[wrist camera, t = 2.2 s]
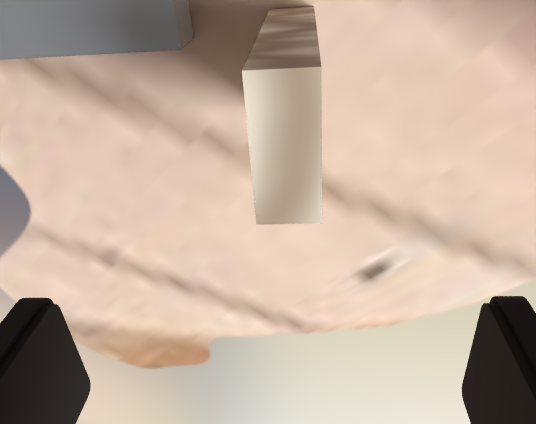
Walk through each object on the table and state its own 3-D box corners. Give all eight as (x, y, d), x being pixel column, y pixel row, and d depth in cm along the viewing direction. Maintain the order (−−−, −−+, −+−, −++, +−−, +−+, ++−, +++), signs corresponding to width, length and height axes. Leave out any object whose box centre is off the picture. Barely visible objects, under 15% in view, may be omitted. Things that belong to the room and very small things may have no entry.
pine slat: (313, 6, 30) (321, 66, 17) (315, 107, 34) (321, 223, 20) (269, 9, 31) (241, 70, 17) (275, 108, 34) (256, 224, 21)
